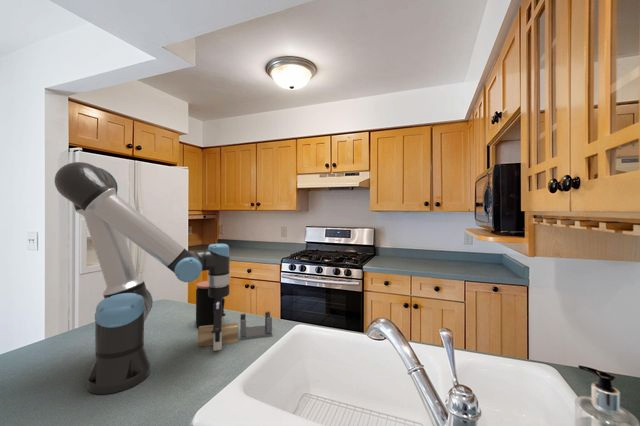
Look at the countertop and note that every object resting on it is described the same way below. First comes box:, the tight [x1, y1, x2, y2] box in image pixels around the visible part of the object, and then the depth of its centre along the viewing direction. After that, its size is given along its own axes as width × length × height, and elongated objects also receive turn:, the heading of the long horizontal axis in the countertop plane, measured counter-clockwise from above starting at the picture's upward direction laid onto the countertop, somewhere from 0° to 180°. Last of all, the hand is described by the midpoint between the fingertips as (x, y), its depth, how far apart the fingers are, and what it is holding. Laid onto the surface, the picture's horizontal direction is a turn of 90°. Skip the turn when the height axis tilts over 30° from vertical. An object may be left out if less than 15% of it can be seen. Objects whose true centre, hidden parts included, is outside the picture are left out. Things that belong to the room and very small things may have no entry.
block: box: [197, 322, 239, 347], centre depth 106 cm, size 4×14×6 cm, turn 105°
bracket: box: [239, 310, 273, 341], centre depth 114 cm, size 9×12×7 cm
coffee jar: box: [195, 280, 215, 329], centre depth 122 cm, size 11×11×18 cm
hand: (218, 341), depth 106 cm, fingers open, 13 cm apart
